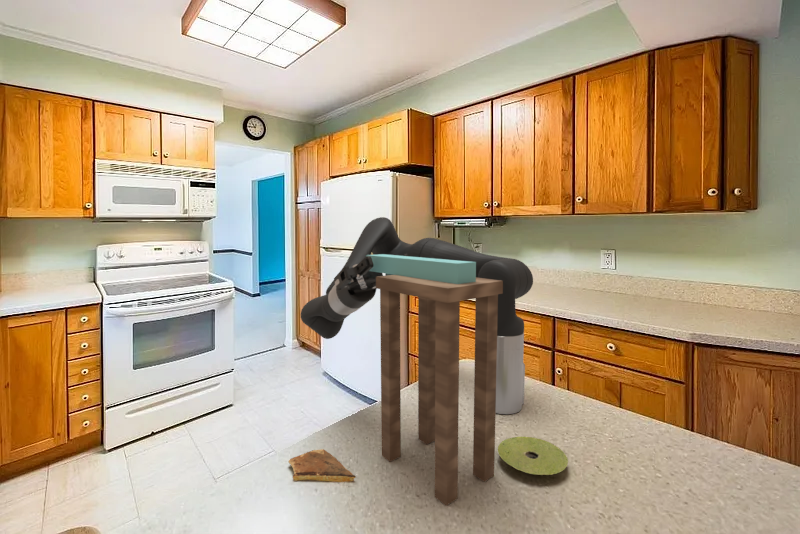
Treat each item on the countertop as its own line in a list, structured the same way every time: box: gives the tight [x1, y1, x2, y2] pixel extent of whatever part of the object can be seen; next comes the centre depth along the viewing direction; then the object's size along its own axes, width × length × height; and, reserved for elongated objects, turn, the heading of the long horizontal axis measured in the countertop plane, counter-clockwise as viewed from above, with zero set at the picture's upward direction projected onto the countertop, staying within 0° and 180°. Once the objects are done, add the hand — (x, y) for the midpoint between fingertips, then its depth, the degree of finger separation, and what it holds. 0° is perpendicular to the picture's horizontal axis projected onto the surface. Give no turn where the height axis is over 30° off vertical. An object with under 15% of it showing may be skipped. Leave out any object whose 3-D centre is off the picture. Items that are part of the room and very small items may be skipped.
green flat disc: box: [497, 436, 569, 476], centre depth 66 cm, size 11×11×2 cm
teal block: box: [366, 254, 476, 284], centre depth 67 cm, size 4×24×3 cm, turn 38°
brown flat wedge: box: [288, 448, 357, 483], centre depth 63 cm, size 11×8×2 cm
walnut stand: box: [376, 275, 503, 507], centre depth 64 cm, size 12×17×32 cm
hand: (389, 259), depth 72 cm, fingers open, 8 cm apart
